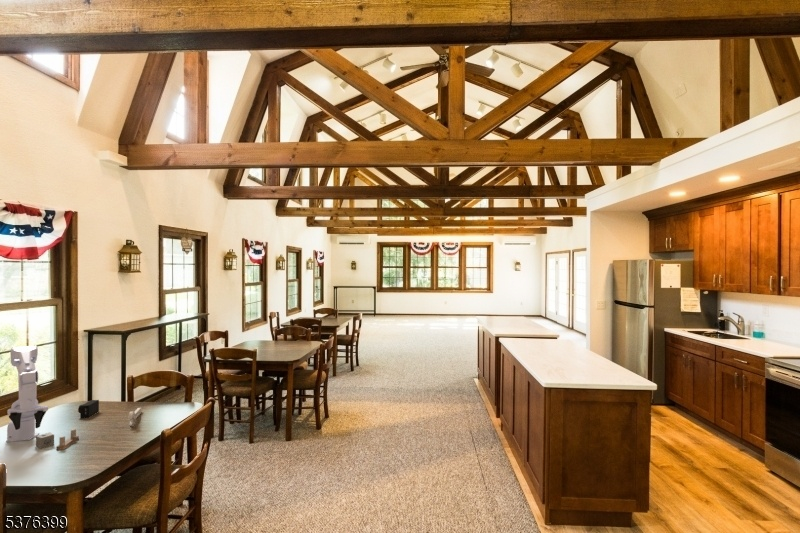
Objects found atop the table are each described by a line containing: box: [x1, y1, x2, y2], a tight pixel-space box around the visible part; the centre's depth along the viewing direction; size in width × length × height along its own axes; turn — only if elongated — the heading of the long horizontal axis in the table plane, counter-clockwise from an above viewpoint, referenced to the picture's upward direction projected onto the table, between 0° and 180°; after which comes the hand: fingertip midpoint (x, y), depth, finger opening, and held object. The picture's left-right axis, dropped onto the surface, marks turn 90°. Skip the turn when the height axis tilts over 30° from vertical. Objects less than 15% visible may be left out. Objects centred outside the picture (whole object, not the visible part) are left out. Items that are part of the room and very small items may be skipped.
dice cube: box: [35, 432, 55, 450], centre depth 191 cm, size 5×5×5 cm
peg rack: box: [55, 428, 80, 451], centre depth 193 cm, size 3×12×5 cm, turn 12°
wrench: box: [127, 407, 142, 427], centre depth 224 cm, size 8×2×30 cm
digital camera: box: [77, 399, 100, 419], centre depth 232 cm, size 10×5×7 cm, turn 11°
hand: (27, 428), depth 190 cm, fingers open, 7 cm apart
